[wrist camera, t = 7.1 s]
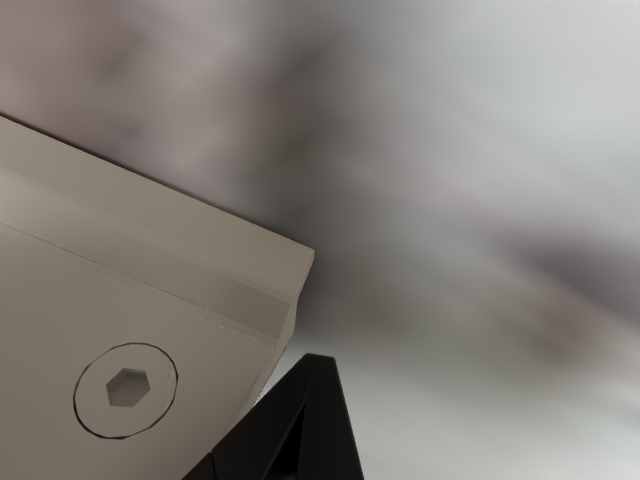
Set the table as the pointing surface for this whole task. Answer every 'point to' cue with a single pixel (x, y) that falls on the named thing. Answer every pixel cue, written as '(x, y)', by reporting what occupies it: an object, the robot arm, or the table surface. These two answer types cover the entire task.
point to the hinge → (127, 317)
